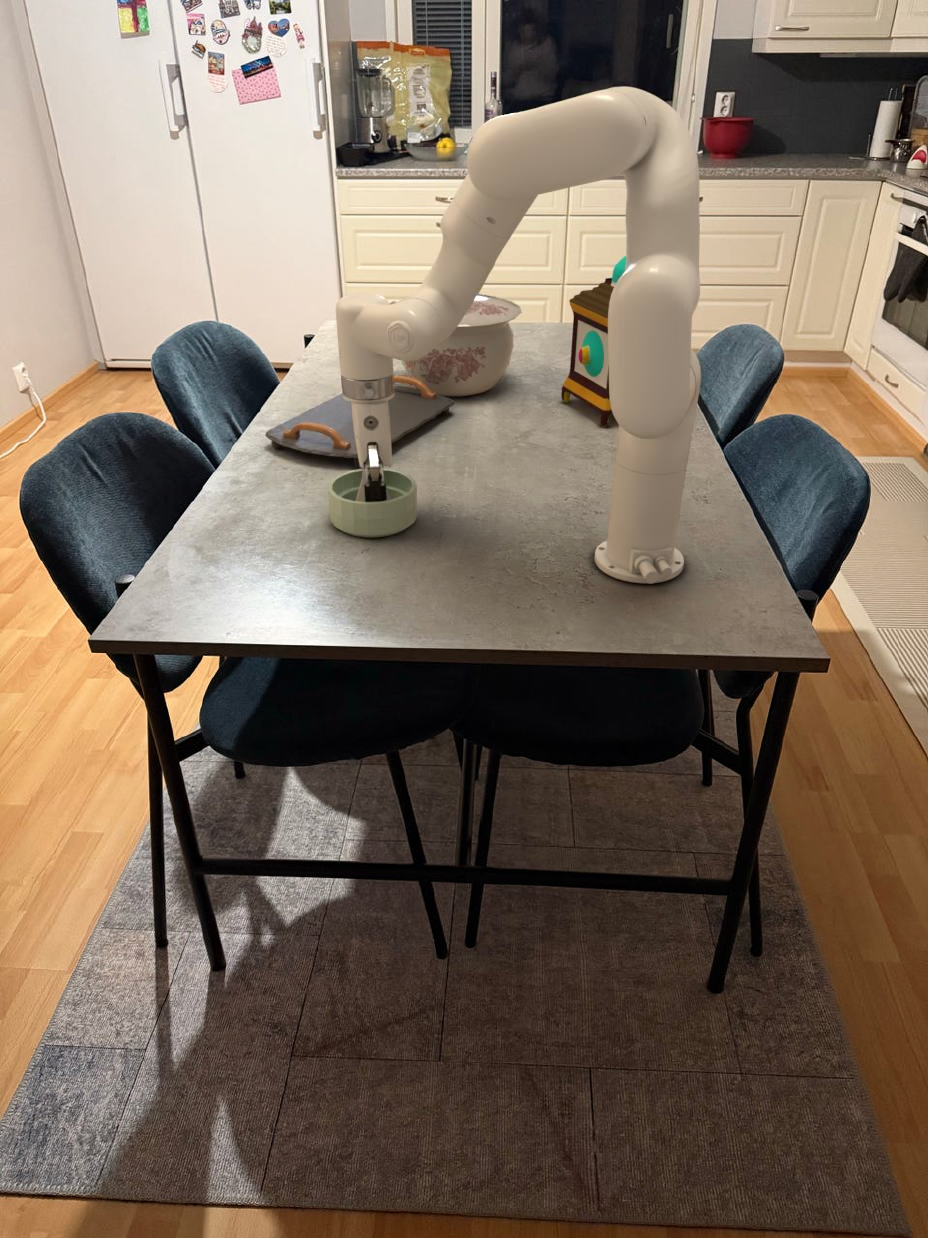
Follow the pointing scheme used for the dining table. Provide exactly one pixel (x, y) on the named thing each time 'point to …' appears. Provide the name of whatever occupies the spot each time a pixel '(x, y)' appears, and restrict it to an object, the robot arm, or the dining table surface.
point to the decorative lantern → (592, 346)
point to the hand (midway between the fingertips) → (375, 495)
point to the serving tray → (333, 421)
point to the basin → (372, 505)
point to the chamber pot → (470, 351)
